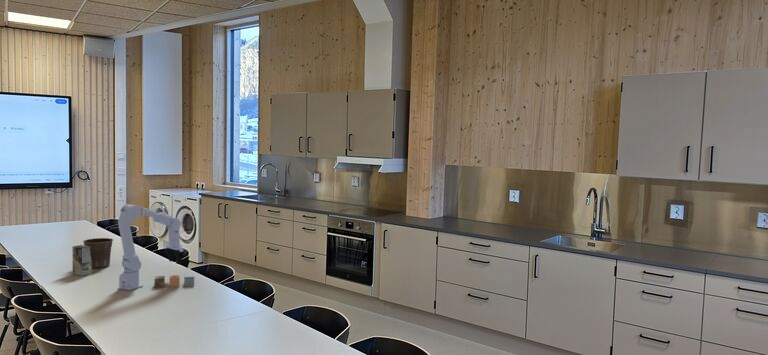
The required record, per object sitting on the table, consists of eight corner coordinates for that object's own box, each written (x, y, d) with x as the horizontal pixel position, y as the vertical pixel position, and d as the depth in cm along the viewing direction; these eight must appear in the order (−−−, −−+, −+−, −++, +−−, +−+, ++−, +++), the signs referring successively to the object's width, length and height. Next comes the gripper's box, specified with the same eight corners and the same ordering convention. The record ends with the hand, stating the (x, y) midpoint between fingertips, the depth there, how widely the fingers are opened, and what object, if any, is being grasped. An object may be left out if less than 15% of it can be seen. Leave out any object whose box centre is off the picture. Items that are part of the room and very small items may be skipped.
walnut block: (154, 287, 294) (154, 278, 293) (154, 285, 298) (154, 276, 298) (164, 287, 295) (164, 278, 295) (164, 284, 300) (164, 275, 300)
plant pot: (76, 268, 330) (76, 241, 329) (96, 262, 345) (96, 237, 344) (99, 270, 326) (99, 243, 325) (118, 264, 342) (119, 239, 341)
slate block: (184, 286, 299) (184, 277, 299) (184, 283, 304) (184, 274, 303) (194, 285, 301) (194, 276, 300) (193, 283, 305) (193, 274, 305)
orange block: (169, 287, 296) (169, 277, 296) (169, 284, 301) (169, 275, 301) (179, 286, 298) (179, 277, 298) (179, 284, 303) (179, 275, 302)
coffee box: (92, 274, 317) (92, 246, 316) (81, 276, 312) (81, 248, 310) (82, 271, 321) (82, 244, 320) (71, 273, 316) (71, 246, 315)
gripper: (187, 239, 308) (188, 262, 310) (173, 235, 317) (174, 258, 319) (176, 241, 303) (177, 265, 304) (162, 237, 312) (163, 261, 313)
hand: (175, 262), depth 311 cm, fingers open, 7 cm apart
